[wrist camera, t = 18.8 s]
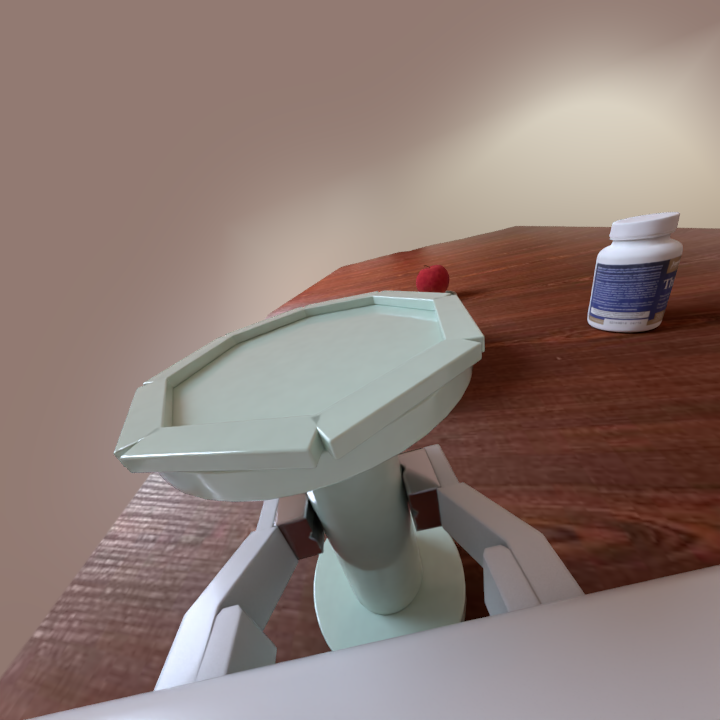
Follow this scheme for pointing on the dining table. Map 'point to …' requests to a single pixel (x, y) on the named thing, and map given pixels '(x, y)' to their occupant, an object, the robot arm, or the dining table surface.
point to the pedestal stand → (325, 443)
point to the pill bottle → (635, 274)
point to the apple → (433, 280)
